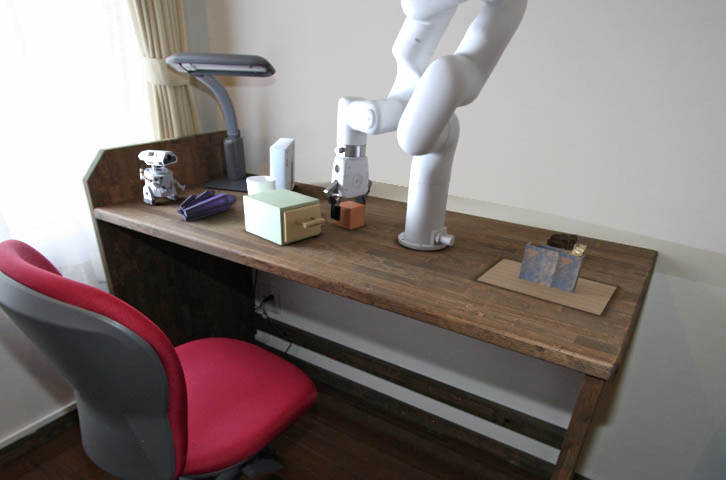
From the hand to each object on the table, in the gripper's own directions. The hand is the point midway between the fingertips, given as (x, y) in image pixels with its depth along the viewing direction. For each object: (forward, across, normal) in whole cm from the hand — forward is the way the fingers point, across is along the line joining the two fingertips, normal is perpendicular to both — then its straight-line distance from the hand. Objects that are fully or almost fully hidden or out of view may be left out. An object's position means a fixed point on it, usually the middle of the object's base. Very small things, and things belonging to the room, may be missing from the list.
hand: (347, 216), depth 130 cm
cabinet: (+3, -18, +6) cm, 19 cm away
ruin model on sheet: (+1, +4, -56) cm, 56 cm away
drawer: (+2, -18, +2) cm, 18 cm away
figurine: (+4, -27, +50) cm, 57 cm away
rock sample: (+1, +26, -51) cm, 57 cm away
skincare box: (+4, +8, +37) cm, 38 cm away
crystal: (+4, -23, +32) cm, 40 cm away
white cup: (+3, -12, +22) cm, 25 cm away
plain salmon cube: (+2, 0, -1) cm, 2 cm away
